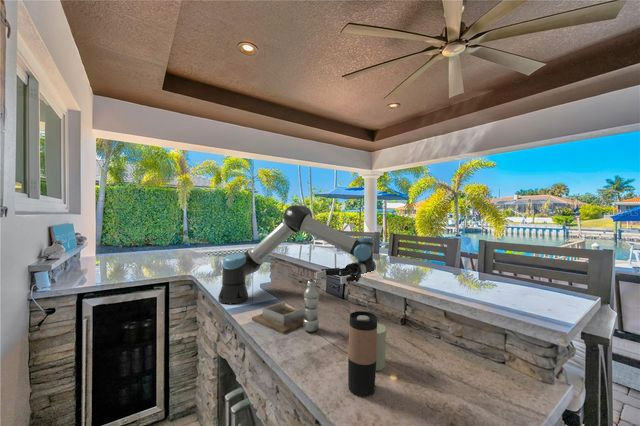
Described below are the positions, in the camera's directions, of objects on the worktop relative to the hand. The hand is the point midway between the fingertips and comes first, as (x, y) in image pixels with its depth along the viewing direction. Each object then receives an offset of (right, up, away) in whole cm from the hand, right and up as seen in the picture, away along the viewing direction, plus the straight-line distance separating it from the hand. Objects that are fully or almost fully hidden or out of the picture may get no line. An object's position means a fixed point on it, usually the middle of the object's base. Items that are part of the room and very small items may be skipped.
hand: (328, 278), depth 119 cm
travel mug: (+8, -20, -43) cm, 48 cm away
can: (+13, -20, -30) cm, 39 cm away
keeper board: (-19, -19, +3) cm, 27 cm away
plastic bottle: (-7, -20, -7) cm, 22 cm away
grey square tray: (-19, -18, +2) cm, 26 cm away
